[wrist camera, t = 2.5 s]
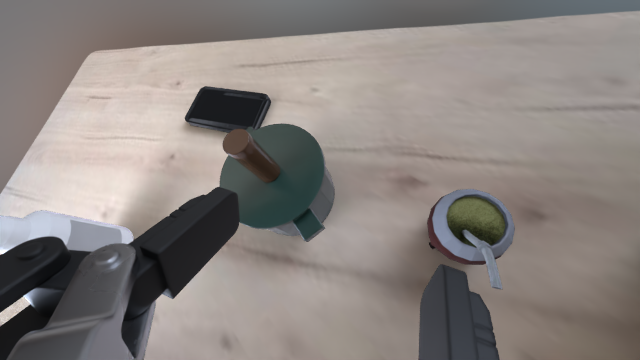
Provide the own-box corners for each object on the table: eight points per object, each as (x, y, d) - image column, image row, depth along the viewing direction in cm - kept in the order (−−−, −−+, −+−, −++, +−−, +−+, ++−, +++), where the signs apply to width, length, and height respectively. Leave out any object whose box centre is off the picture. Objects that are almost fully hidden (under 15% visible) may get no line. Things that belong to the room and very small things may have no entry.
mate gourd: (465, 196, 31) (524, 128, 17) (510, 259, 27) (627, 237, 14) (407, 222, 31) (421, 176, 18) (444, 287, 28) (496, 292, 14)
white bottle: (100, 279, 39) (-101, 277, 23) (97, 240, 42) (-85, 214, 26) (137, 256, 39) (-40, 238, 23) (131, 218, 42) (-30, 180, 26)
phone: (252, 134, 41) (182, 120, 46) (255, 137, 42) (187, 124, 47) (270, 93, 43) (202, 85, 48) (273, 98, 44) (206, 89, 49)
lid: (289, 111, 33) (259, 61, 25) (350, 181, 27) (335, 143, 20) (210, 171, 32) (156, 139, 25) (255, 254, 27) (203, 244, 19)
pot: (296, 133, 40) (275, 101, 33) (364, 215, 33) (357, 197, 26) (238, 178, 40) (204, 155, 33) (294, 271, 33) (266, 268, 25)
